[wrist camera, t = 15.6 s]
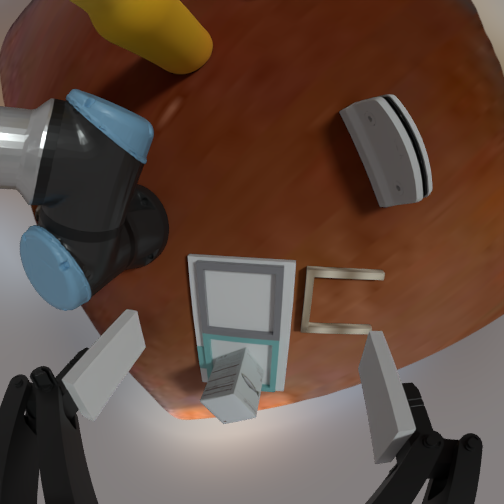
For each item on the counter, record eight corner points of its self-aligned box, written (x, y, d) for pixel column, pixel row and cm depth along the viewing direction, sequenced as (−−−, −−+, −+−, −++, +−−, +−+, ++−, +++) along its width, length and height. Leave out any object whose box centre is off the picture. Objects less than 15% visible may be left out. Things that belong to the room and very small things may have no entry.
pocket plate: (203, 378, 58) (201, 384, 56) (189, 254, 48) (185, 258, 46) (283, 387, 55) (283, 394, 54) (295, 260, 45) (295, 265, 43)
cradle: (300, 327, 49) (300, 332, 48) (307, 266, 45) (307, 269, 44) (369, 329, 48) (370, 334, 46) (382, 269, 43) (384, 273, 42)
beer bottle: (167, 83, 38) (30, 36, 11) (157, 41, 35) (39, -23, 8) (220, 64, 36) (118, -30, 9) (208, 21, 33) (117, -78, 6)
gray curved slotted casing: (337, 109, 36) (373, 89, 26) (360, 101, 36) (398, 83, 27) (380, 209, 40) (422, 214, 31) (400, 197, 40) (443, 200, 31)
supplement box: (265, 370, 53) (257, 418, 41) (235, 379, 55) (222, 425, 43) (246, 345, 51) (234, 393, 40) (215, 356, 53) (198, 401, 42)
